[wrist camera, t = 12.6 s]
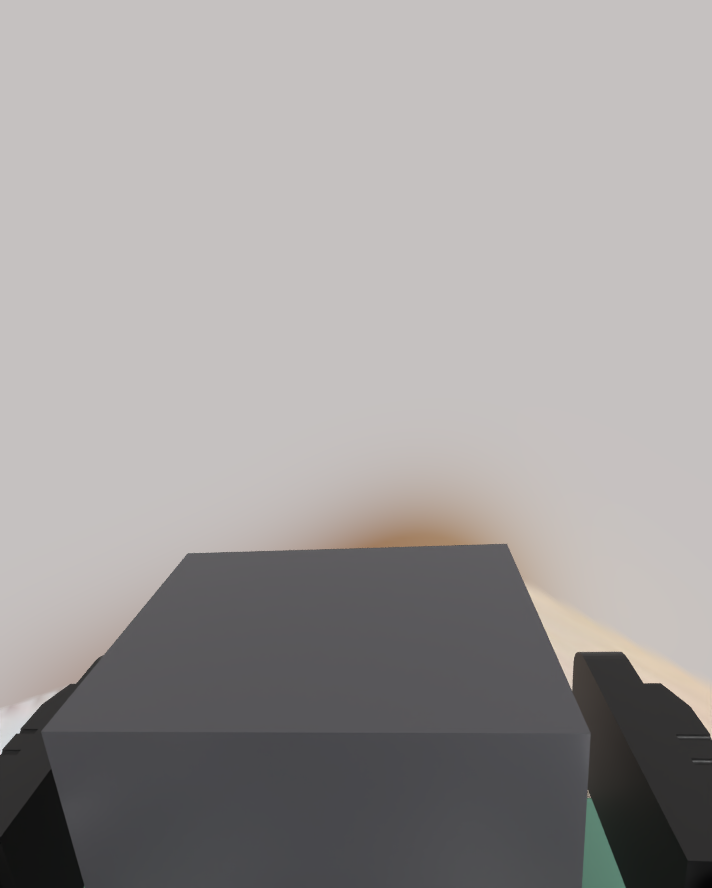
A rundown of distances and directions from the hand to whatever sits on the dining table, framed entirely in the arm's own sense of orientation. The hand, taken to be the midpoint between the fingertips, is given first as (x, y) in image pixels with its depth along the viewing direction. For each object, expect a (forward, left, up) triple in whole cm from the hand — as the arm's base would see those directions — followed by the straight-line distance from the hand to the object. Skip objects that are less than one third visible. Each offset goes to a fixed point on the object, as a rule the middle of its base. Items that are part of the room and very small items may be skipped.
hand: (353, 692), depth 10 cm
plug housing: (0, -2, -7) cm, 7 cm away
